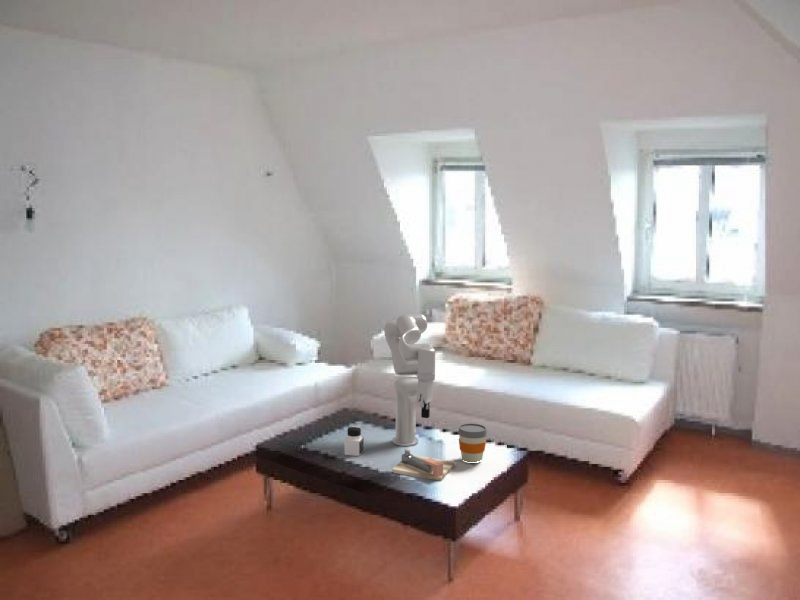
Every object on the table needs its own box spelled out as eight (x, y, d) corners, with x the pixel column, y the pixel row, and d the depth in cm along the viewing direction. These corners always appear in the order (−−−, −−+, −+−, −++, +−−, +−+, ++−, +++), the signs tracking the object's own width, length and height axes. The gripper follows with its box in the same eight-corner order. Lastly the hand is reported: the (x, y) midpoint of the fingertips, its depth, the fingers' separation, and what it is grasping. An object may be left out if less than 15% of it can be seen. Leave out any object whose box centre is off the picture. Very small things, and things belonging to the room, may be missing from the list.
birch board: (408, 457, 294) (408, 443, 293) (455, 465, 286) (455, 450, 285) (392, 472, 277) (392, 456, 276) (441, 480, 269) (441, 464, 268)
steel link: (399, 460, 285) (399, 455, 285) (407, 458, 288) (407, 452, 288) (426, 472, 272) (427, 467, 272) (435, 469, 275) (435, 464, 275)
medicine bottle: (359, 456, 296) (359, 430, 294) (344, 455, 297) (344, 429, 296) (363, 450, 303) (363, 425, 301) (348, 449, 304) (348, 424, 302)
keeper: (423, 471, 275) (423, 459, 274) (430, 469, 277) (430, 457, 277) (436, 476, 269) (436, 465, 268) (443, 474, 272) (443, 462, 271)
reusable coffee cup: (482, 467, 284) (483, 433, 282) (454, 463, 288) (455, 430, 286) (488, 457, 296) (489, 425, 294) (461, 453, 300) (462, 421, 298)
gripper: (423, 371, 290) (423, 411, 292) (411, 379, 276) (411, 421, 279) (440, 373, 287) (439, 413, 289) (428, 381, 273) (427, 423, 276)
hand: (425, 417), depth 284 cm, fingers closed
